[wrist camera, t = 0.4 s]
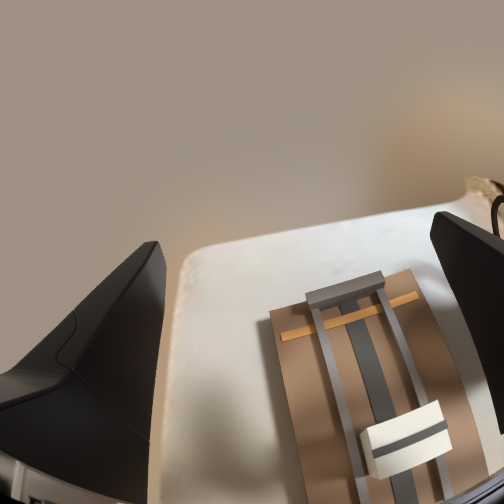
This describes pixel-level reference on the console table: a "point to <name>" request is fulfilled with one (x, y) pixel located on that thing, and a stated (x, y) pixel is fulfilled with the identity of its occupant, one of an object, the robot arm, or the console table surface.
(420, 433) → the fader tab
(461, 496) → the robot arm
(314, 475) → the fader board
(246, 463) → the console table surface
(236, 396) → the console table surface
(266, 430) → the console table surface
